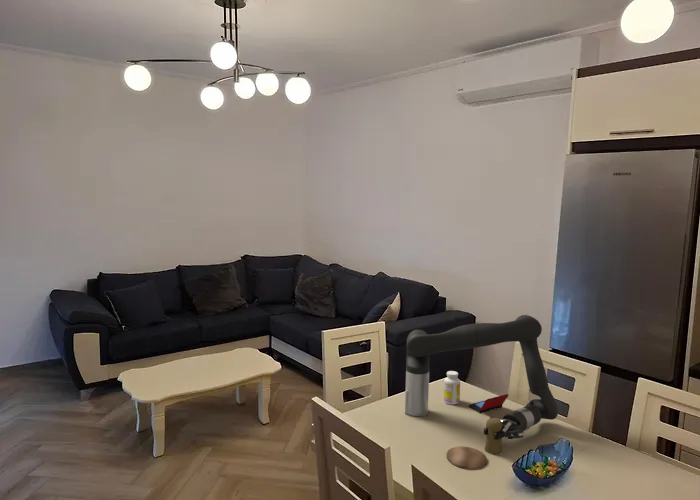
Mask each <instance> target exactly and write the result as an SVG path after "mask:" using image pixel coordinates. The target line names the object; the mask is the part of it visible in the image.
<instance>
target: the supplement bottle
mask: <svg viewBox="0 0 700 500" xmlns="http://www.w3.org/2000/svg"><path fill="white" fill-rule="evenodd" d="M446 376H447V377H445V378H444V381H443V402H444V403H446V404H447V405H458V404H460V402H461V401H460V400H461V380H460V379H459V378H458V376H459V373H458V372H457V371H454V370H448V371H447V372H446Z"/></svg>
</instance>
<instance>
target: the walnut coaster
mask: <svg viewBox="0 0 700 500" xmlns="http://www.w3.org/2000/svg"><path fill="white" fill-rule="evenodd" d="M446 459H447V461H448V462H449V463H450V464H451V465H453V466H455V467H457V468H460V469H465V470H477V469H479V470H480V469H481V468H483V467H485V466H487V465H486V464H487V456H486V455H485V453H484V452H482V451H481V450H479V449H476V448H473V447H469V446H455V447H451V448H450V449H448V450H447V451H446Z"/></svg>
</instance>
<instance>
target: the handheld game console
mask: <svg viewBox="0 0 700 500" xmlns="http://www.w3.org/2000/svg"><path fill="white" fill-rule="evenodd" d="M508 397H509V394H508V393H506V394H502V395H499V396H494V397H491V398H487V399H485V400H481V401H477V402H473V403H470V404H468V408H469V409H472V410H473V411H475V412H477V413H479V414H484V413H487V411H488V412H490V411H493V410H498V409H502V408H503V404H504V403H505V401H506V400H507V398H508Z"/></svg>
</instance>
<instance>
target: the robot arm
mask: <svg viewBox="0 0 700 500" xmlns="http://www.w3.org/2000/svg"><path fill="white" fill-rule="evenodd" d="M542 330H543V328H542V325H541V323H540V321H539V320H537V318H535V317H533V316H531V315H528V314H522V315H519V316H518V317H516V319H515V320H511V321H507V322H498V323H495V322H494V323H493V322H480V323H479V322H478V323H470V324H463V325H458V326H455V327H453V328H451V329H449V330H446V331H443V332H439V333H432V334H429V333H427V332H426V331H425V330H422V329H414V330H412V331H410V332H409V334H408V335H407V338H406V359H405V363H406V364H405V401H404V402H405V403H404V405H405V406H404V414H405V415H409V416H413V417H423V416H427V415H428V413H429V395H430V394H429V389H430V388H429V387H430V362H431V361H430V358H431V357H430V355H434V354H438V353H443V352H450V351H451V352H452V351H460V350H468V349H477V348H482V347H488V346H489V347H490V346H492V345H498V344H502V343H508V342H509V343H511V342H512V343H513V342H519V345H520V348H521V352H522V356H523V357H522V358H523V360H524V367H525V372H526V378H527V382H528V388H529V392H530V393H531V394H533V395H536V396H537V397H539V399H538V398H535V399H531V400H530V401H528V402H527V404H526V405H525V406H523V407H521V408H520V407H519V408H517V409H514V410H513V411H509V412H508V413H506V414H505V415H504V416H502V418H498V419H499V420H501V422H502V429H501V431H499V432H496V433H495V434H494V439H495V440H498V439H501V440H502V439H505V438H507V440H515V439H521V438H524V432H525V431H527V430H529V429H530V428H531V427H533V426H535V425H537V424H539V423H540V422H541V420H542V419H543V420H556V418H557V417H558V415H559V405H558V404H557V401H556V399H555V397H554V395H553V393H552V391H551V389H550V387H549V380H548V377H547V373H546V369H545V366H544V363H543V362H544V361H543V360H542V356H541V353H540V350H539V344H538V338H539V337H540V335H541V334H542ZM490 418H495V417H494V416H490V417H489V418H488V419H490ZM487 434H488V427H487V422H486V427H484V428H483V435H484V436H487Z"/></svg>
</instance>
